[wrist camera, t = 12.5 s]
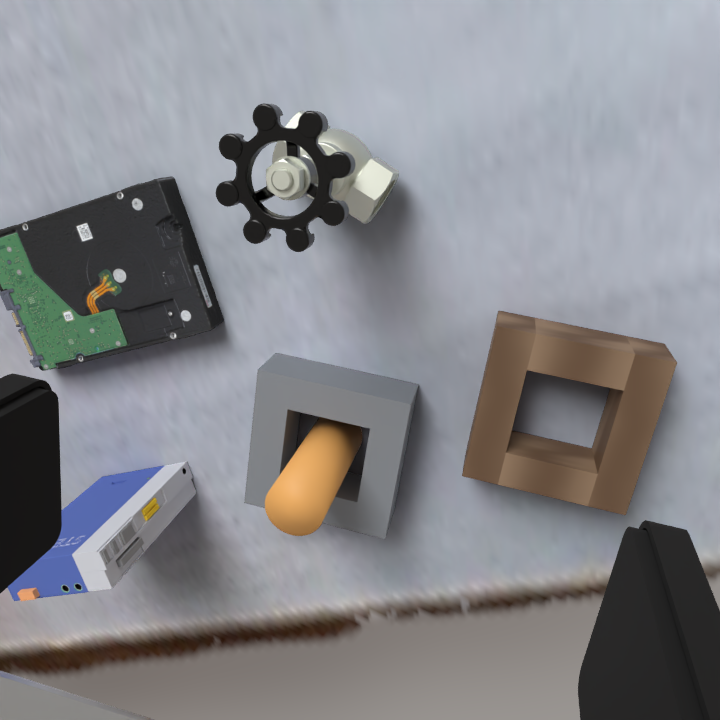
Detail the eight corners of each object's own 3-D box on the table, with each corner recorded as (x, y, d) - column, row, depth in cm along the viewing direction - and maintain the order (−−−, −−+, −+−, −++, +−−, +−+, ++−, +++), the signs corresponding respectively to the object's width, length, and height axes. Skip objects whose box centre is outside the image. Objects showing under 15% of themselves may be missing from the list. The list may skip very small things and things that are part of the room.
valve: (362, 240, 43) (307, 280, 32) (274, 183, 43) (189, 203, 32) (418, 146, 40) (380, 154, 29) (325, 86, 40) (251, 71, 29)
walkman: (114, 507, 54) (10, 605, 43) (101, 476, 53) (-8, 568, 42) (200, 493, 52) (113, 593, 41) (188, 460, 51) (96, 553, 40)
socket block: (418, 384, 45) (410, 404, 42) (393, 511, 48) (385, 539, 45) (276, 352, 46) (257, 369, 43) (262, 478, 50) (244, 502, 47)
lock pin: (365, 417, 47) (328, 489, 37) (358, 461, 48) (319, 542, 39) (317, 406, 47) (268, 474, 38) (311, 450, 48) (261, 526, 39)
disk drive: (176, 171, 45) (0, 233, 49) (156, 174, 42) (-29, 239, 46) (230, 319, 47) (58, 365, 51) (214, 330, 45) (34, 378, 49)
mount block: (664, 344, 41) (677, 362, 37) (617, 486, 44) (625, 515, 41) (498, 310, 42) (496, 325, 39) (466, 451, 46) (462, 476, 42)
